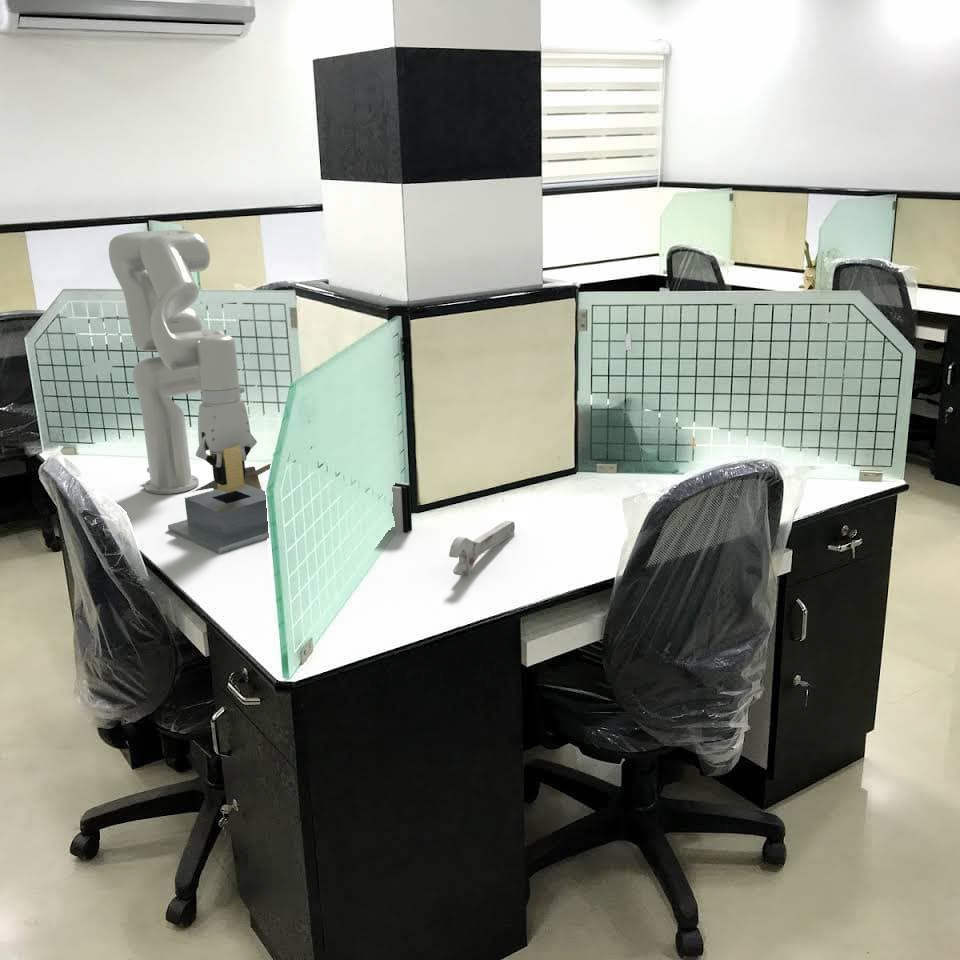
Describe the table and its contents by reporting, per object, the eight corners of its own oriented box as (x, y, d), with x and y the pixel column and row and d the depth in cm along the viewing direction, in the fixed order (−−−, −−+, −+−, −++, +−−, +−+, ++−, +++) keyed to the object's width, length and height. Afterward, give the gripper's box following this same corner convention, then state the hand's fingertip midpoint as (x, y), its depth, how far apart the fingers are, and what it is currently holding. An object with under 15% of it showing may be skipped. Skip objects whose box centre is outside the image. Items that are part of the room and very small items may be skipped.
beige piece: (207, 523, 229) (242, 488, 221) (190, 491, 231) (225, 455, 223) (259, 512, 243) (294, 479, 235) (242, 483, 244) (277, 449, 237)
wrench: (514, 546, 209) (457, 585, 182) (506, 545, 210) (447, 583, 182) (515, 508, 207) (458, 542, 180) (507, 507, 208) (448, 541, 181)
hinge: (346, 529, 212) (343, 484, 209) (356, 520, 217) (353, 476, 214) (408, 534, 208) (406, 488, 205) (416, 525, 213) (414, 480, 210)
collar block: (168, 530, 213) (164, 498, 211) (248, 506, 227) (245, 476, 224) (219, 553, 200) (215, 520, 198) (300, 527, 213) (298, 495, 211)
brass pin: (217, 488, 210) (212, 443, 207) (234, 484, 213) (229, 439, 210) (228, 492, 208) (223, 446, 204) (244, 488, 210) (240, 442, 207)
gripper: (246, 386, 212) (254, 469, 218) (175, 400, 201) (185, 487, 207) (266, 391, 207) (273, 475, 213) (194, 406, 196) (204, 494, 202)
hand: (230, 480), depth 210 cm, fingers closed on brass pin, 4 cm apart
